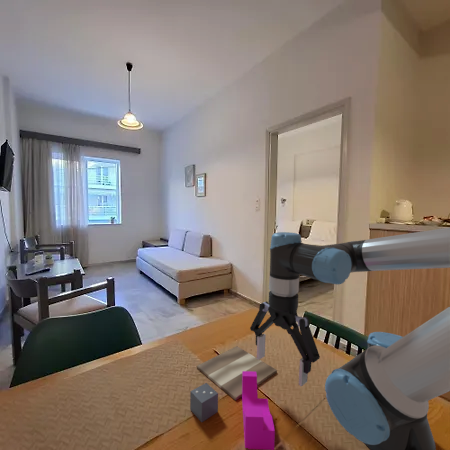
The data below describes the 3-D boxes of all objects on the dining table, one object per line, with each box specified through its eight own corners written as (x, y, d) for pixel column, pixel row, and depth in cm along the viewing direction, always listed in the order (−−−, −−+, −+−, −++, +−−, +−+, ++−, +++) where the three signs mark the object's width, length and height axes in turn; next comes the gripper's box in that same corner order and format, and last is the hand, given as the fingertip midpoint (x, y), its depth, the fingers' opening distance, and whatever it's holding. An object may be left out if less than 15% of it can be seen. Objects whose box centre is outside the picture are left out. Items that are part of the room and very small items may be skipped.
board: (276, 372, 80) (276, 369, 80) (235, 400, 68) (235, 397, 68) (236, 348, 93) (236, 346, 93) (196, 368, 81) (196, 365, 81)
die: (218, 411, 64) (218, 392, 64) (201, 422, 61) (201, 402, 60) (206, 400, 68) (206, 381, 68) (190, 409, 65) (190, 390, 64)
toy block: (274, 450, 54) (275, 417, 54) (245, 449, 54) (245, 416, 54) (264, 398, 69) (265, 371, 69) (241, 397, 69) (242, 371, 69)
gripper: (337, 303, 59) (332, 388, 61) (256, 278, 78) (254, 344, 79) (321, 311, 54) (316, 404, 56) (239, 282, 73) (237, 353, 74)
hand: (280, 369), depth 68 cm, fingers open, 13 cm apart
